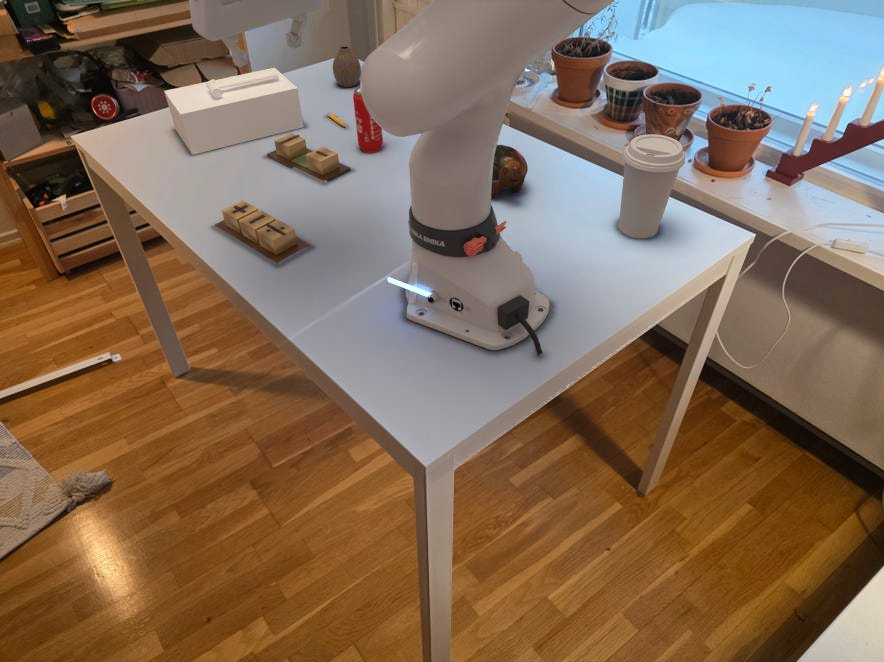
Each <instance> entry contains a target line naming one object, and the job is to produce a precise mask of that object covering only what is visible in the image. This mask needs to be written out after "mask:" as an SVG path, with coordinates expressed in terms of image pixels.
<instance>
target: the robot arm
mask: <svg viewBox="0 0 884 662" xmlns="http://www.w3.org/2000/svg"><path fill="white" fill-rule="evenodd" d="M326 2H327V0H188V3H189V14H190V20H191V26H192V28H193V30H194V31H195V32H196V33H197V34H198V35H199V36H201V37H203V38H204V39H206V40H208V41H211V42H217V41H222V43H223V44H224V45H225V46H226V48H227V49H228V51H229V52H230V53H231V59H232V62H233V65H234V66H236V67H239V68H242V67H245V66H247V65H250V60H249V53H248V51H246V50H244V49H242V48H240V47H239V46H238V45H237V43H239V41H240V40H239V39H240V38H239V35H240V34H243V33H246V32H250V31H252V30H255V29H258V28H262V27H265V26H269V25H272V24H275V23H278V22H281V21H286V20H288V19H291V20H292V21H291V25H290V30H289V31H288V32H286V33H285V38H286V45H287V46H288V47H289V48H291V49H293V50H294V49H298V48H301V47H302V46H303V37H302V35H303V33H304V30H305V27H306V24H307V22H308V17H307V13H310V12H313V11H318V10H320V9H323V8H324V6H325V5H326ZM613 2H615V0H432V1H431V2H430V3H429V4H428V5H427V6H425V7H424V8H423V9H422V10H421V11H419V12H418V13H417V14H416V15H415V16H414V17H412V19H410V20H409V21H408V22H407V23H406V24H404V25H403V26H402V27H401V28H400V29H399V30H398V31H396V32H395V33H394V34H393V35H391V36H390V37H389V38H388V39H386V40H385V41H384V42H382V43H381V44H380V45H378V46H377V47H376V48H375V49H374V50H373V51H372V52H370V53H369V55H367V56H366V58H365V60H364V61H363V64H362V66H361V75H360V80H359V85H360V86H359V87H361V94H362V98H363V101H364V104H365V107H366V109H367V111H368V112H369V114H370V116H371V117H372V119H373V120H374V121H375V122H376V123H377V124H378V125H379V126H380V127H381V128H382V131H385V132H386V133H387V134H390V135H392V136H395V137H398V138H399V137H400V138H406V137H410V136H416V135H419V137H418V138H417V141H416V142H415V144H414V146H413V148H412V150H411V153H410V156H409V157H410V158H409V162H408V163H409V165H408V167H409V182H410V185H409V187H410V206H409V209H408V229H409V231H408V232H409V236H410V239H411V241H412V242H411V255H410V256H411V257H410V266H409V272H408V277H407V281H406V283H405V282H403V281H400V280H397V279H394V278H392V277H387V282H388V283H390V284H393V285H396V286H398V287H401V288H403V289H404V293H405V297H406V301H407V306H406V315H405V316H406V318H407V319H408V320H410V321H412V322H414V323H417V324H420V325H423V326H425V327H428V328H431V329H433V330H435V331H439V332H441V333H444V334H446V335H449V336H451V337H454V338H457V339H459V340H461V341H465V342H468V343H471V344H474V345H476V346H478V347H481V348H483V349H487V350H490V351H499V350H504V349H506V348H510V347H512V346H514V345H516V344H518V343H520V342H522V341H523V340H525V339H526V338H527V337H529V336H530V338H531V340H532V343H533V345H534V348H535V351H536V355H537V356H540V355H543V353H544V352H543V349H542V346H541V343H540V340H539V337H538V335H537V334H536V330H537V329H539V327H540V326H541V325H542V324H543V323H544V322H545V320H546V318H547V317H548V315H549V312H550V299H549V298H548V297H546V296H545V295H543V294H542V293H541V292H539V291H538V290H536V283H535V278H534V274H533V272H532V269H530V267H528V265H527V264H526V263H525V262H524V261H523V257H522V254H521V253H520V252H518V251H517V250H516V251H514V250H513V248H512V247H511V246H510V245H509V244H508V243H507V241H506V240H505V239H504V238H503V237H502V235H501V233H502V232H504V231H505V229H506V228H507V226H506V224H507V221H506V220H504V221H503V222H501V223H500V224H499V223H498V220H497V217H496V213H495V210H494V207H493V205H492V198H491V191H492V175H493V163H494V156H495V151H496V146H497V145H498V143H499V138H500V135H501V131H502V127H503V125H504V121H505V118H506V115H507V111H508V108H509V104H510V102H511V98H512V96H513V93H514V90H515V87H516V86H517V84H518V82H519V79H520V78H521V76H522V74H523V73H524V71H525V69H526V68H527V67H528V66H529V65H531V64H533V63H534V62H535V61H537V60H538V59H540V58H541V57H543V56H544V55H546V54H547V53H549V52H550V51H551V50H552V49H554V48H555V47H556V46H558V45H559V44H560V43H562V42H563V41H564V40H565V39H567V38H568V37H569V36H571V35H572V34H573V33H575V32H576V31H578V29H580V28H581V27H583V26H584V25H585V24H586V23H588V22H589V21H591V20H592V19H593V18H594V17H595V16H597V15H598V14H600V13H601V12H602V11H603V10H605V9H606V8H607V7H608V6H610V5H611V4H612V3H613Z"/></svg>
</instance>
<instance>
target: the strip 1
mask: <svg viewBox="0 0 884 662" xmlns="http://www.w3.org/2000/svg"><path fill="white" fill-rule="evenodd" d="M221 213H222V216H223V220H221V221H219V222H217V223H215V224H214V226H215V227H216V228H218V229H219V230H221V231H223V232H225V233H226V234H228V235H229V236H231V237H233V238H235V239H236V240H238V241H239V242H241V243H243V244H245V245H246V246H248V247H249V248H251V249H253V250H254V251H256V252H258V253H259V254H261V255H263V256H265V257H266V258H268V259H269V260H271V261H272V262H274V263H276V264H279V263H280V262H282V261H284V260H287V258H290V257H291V256H293V255H294V254H296V253H298V252H301V251H302V250H303V249H305V248H307V247H309V246H311V244H310V243H308V242H306V241H304V240H302V239H301V238H299V237H298V236H296V239H297V244H296V245H294V246H293V247H291V248H289V249H287V250H285V251H284V252H282V253H280V254H278V255H275V254H273V253H272V252H270V251H268V250H267V249H265V248H263V247H262V246H260V243H259V239H258V235H257V230H259V229H261V228H263V227H265V226H266V225H265V224H267V223H268V224H270V223H272V222H274V221H276V220H277V218H276V217H274V216H272V215H270V214H268V213H267V212H265V211H263V210H261V209H259V208H258V207H256V206H253V205H252V204H251V203H248V202H247V201H244V199H243V200H240V201H238V202H236V203H234V204H232V205H230V206H228V207H226V208H224V209H222V210H221Z"/></svg>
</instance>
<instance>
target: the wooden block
mask: <svg viewBox="0 0 884 662" xmlns="http://www.w3.org/2000/svg"><path fill="white" fill-rule="evenodd" d="M265 225H266V226H265V227H263V228H261V229H259V230H257V235H258V239H259V243H260V246H262V247H263V248H265V249H267V250H268V251H270V252H272V253H273V254H275V255H278V254H280V253H282V252H284V251H285V250H287V249H289V248H291V247H293V246H294V245H296V244H297V239H296V237H297V234H296V230H295V228H294V227H292V226H291V225H288V224H286V223H285V222H283V221H281V220H279V219H276V221H274V222H272V223H270V224H268V223H267V224H265Z"/></svg>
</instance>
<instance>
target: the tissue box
mask: <svg viewBox="0 0 884 662" xmlns="http://www.w3.org/2000/svg"><path fill="white" fill-rule="evenodd" d="M163 92H164V96H165V99H166V102H167V106H168V109H169V112H170V116H171V118H172V122H173V125H174V128H175V131H176V132H177V134H178V135H179V137H180V138H181V140H182V142H183V143H184V144H185V146H186V147H187V149H188V150H189V152H190V153H191V155H192V156H193V155H197V154H201V153H205V152H209V151H213V150H217V149H222V148H226V147H230V146H233V145H238V144H242V143H245V142H250V141H253V140H258V139H262V138H266V137H269V136H274V135H277V134H281V133H286V132H290V131H294V130H299V129H302V128H304V120H303V114H302V107H301V101H300V96H299V89H298V87H297V86H296V85H295V84H294V83H292V81H290V79H288V78H287V77H286V76H285V75H283V74H282V73H281V72H280V71H279V70H278V69H277V68H276V67H272V68H266V69H261V70H257V71H250V72H248V73H247V72H246V73H242V74H238V75H233V76H228V77H224V78H219V79H214V78H212V79H210V80H208V81H204V82H200V83H195V84H190V85H186V86H181V87H176V88H171V89H168V90H167V89H166V90H163Z"/></svg>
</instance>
